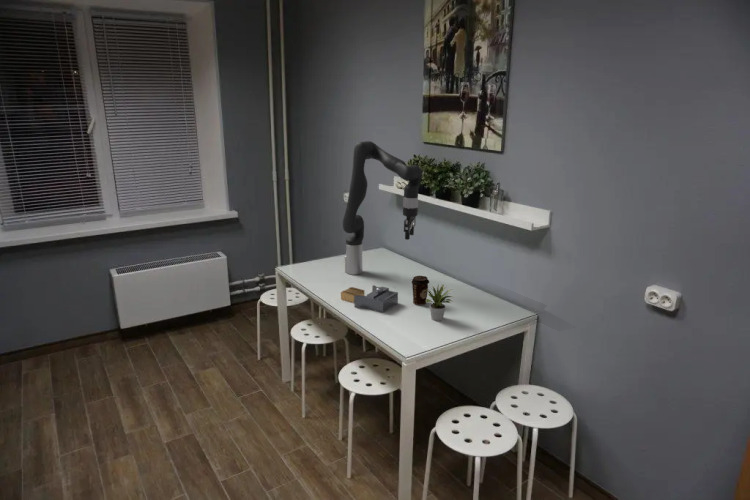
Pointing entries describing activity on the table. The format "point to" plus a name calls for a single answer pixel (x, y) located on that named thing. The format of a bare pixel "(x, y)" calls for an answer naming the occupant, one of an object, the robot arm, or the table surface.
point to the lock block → (351, 294)
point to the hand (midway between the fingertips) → (409, 237)
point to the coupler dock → (377, 299)
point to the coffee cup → (420, 289)
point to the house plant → (438, 303)
